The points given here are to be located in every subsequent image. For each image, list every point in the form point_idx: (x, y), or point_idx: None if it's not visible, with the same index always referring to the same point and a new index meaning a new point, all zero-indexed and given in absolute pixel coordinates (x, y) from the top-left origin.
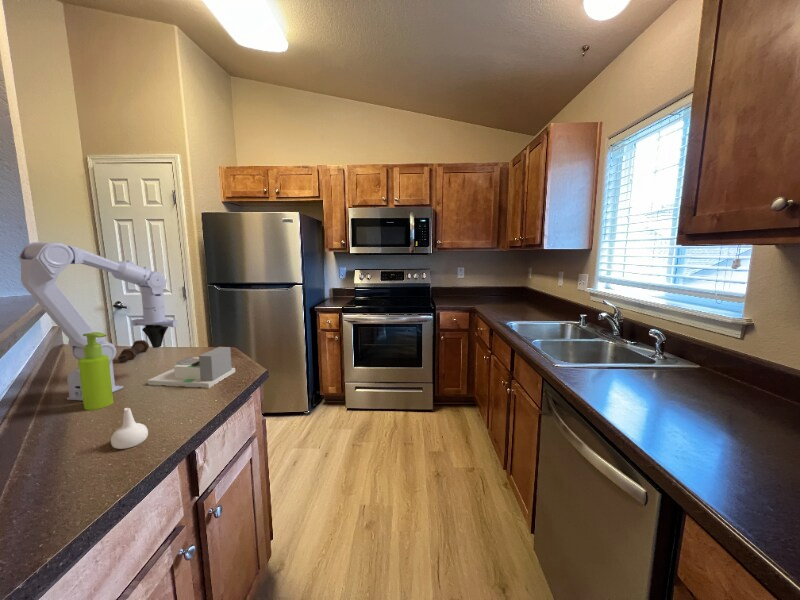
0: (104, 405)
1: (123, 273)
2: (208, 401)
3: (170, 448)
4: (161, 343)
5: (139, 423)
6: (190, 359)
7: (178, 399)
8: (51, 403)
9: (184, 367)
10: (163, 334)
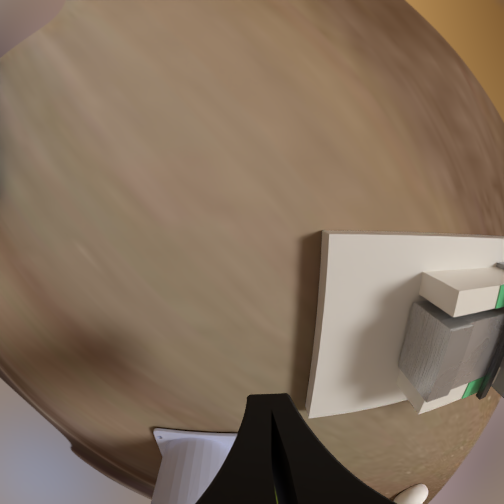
0: None
1: None
2: (479, 406)
3: (449, 475)
4: (297, 412)
5: (422, 498)
6: (463, 346)
7: (432, 427)
8: None
9: (452, 400)
10: (350, 484)
